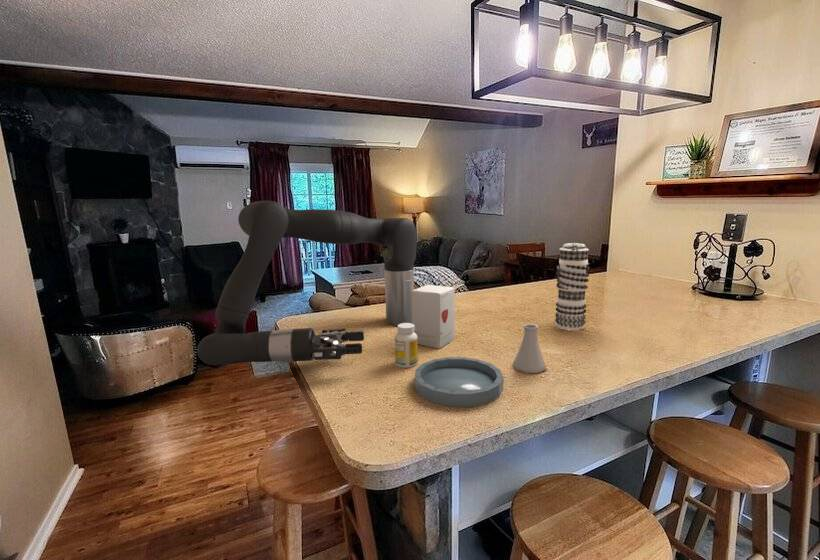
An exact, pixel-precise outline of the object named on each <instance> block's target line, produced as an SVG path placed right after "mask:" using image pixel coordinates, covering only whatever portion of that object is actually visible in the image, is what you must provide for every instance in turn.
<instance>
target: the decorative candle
mask: <svg viewBox="0 0 820 560" xmlns="http://www.w3.org/2000/svg"><path fill="white" fill-rule="evenodd" d="M559 251H560V252H559V259H558V260H559V261H558V263H559V264H558V265H557V266H556V270H557V271H556V276H557V278H556V282H557V283H556V284H555V285H556V289H557V290H558V295H557V299H556V300H557V301H556V303H555V306H556V307H555V311H556V312H555V314H554V316H555V318H554V322H555V324H554V326H555V327H556V326H557V327H556V328H558V327H559V328H558V329H560V328H562V329H561V330H564V329H570V330H569V331H572V330H574V331H580V330H579V329H583V328H586V327H585V324H586V318H587V316H586V313H587V310H586V308H587V304H586V291H588V288H589V286H588V285H587V284H586V283H588V282H589V281H590V280H589V279H588V277H590V274H589V273H588V272H587V271H589V270H591V267H590V266H589V265H591V263H590V262H589V258H588V255H589V254H588V253H589V251H590V249H589V248H588V247H587V246H586V244H584V243H579V242H567V243H564V244H563V245H562V247H560V248H559ZM583 330H584V329H583Z"/></svg>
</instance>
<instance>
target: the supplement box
mask: <svg viewBox="0 0 820 560" xmlns="http://www.w3.org/2000/svg"><path fill="white" fill-rule="evenodd" d="M455 289H456V288H455V287H451V286H443V285H436V284H435V285H433V284H426V285H423V286H420V287H418V288H414V290H412V324H414V327H415V330H414V333H416V335H417V345H421V346H425V347H431V348H436V349H441V348H443V347H444V346H446V345H447V344H449V343H450V342H453V341H454V340H455V332H456V331H455V327H456V326H455V321H456V320H455V318H456V317H455V312H456V311H455V308H456V307H455V306H456V305H455V304H456V303H455V301H456V300H455V296H456V295H455V293H456V290H455Z"/></svg>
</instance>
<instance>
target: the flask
mask: <svg viewBox="0 0 820 560" xmlns="http://www.w3.org/2000/svg"><path fill="white" fill-rule="evenodd" d="M522 327H523V331H524V332H523V333H524V334H523V336H522V337H523V338H522V342H521V343H520V347H519V348H518V351H517V353H516V355H515V357H514V360H513V362H512V365H513V367H514V369H515V370H518V371H520V372H523V373H524V374H539V373H542V372H543V371H544V372H545V371H546V370H547V365H546V363H545V361H544V357H543V355H542V351H541V349H540V345H539V341H538V330H539V326H538V325H537V324H534V323H526V324H523V325H522Z"/></svg>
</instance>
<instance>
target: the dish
mask: <svg viewBox="0 0 820 560" xmlns="http://www.w3.org/2000/svg"><path fill="white" fill-rule="evenodd" d="M414 389H415V391H416V392H417V393H418V395H419V396H420V397H421V398H423V399H425V400H427V401H429V402H432V404H437V405H442V406H447V407H451V408H452V407H453V408H454V407H455V408H462V407H463V408H471V407H472V408H473V407H477V406H482V405H487V404H489V403H491V402H492V401H494V400H496V399H498V398H499V397H500V396H501V394H502V392H503V390H504V375H503V373H502V371H501V369H500V368H498V367H496V366H495V365H494V364H492V363H490V362H489V361H488V362H487V361H485V360H483V359H482V360H481V359H478V358H471V357H466V356H464V357H463V356H447V357H442V358H441V357H440V358H439V357H438V358H433V359H431V360H428V361H426V362H423V363H421V364H420V365H419V366H418V367H417V368H415V370H414Z"/></svg>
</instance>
